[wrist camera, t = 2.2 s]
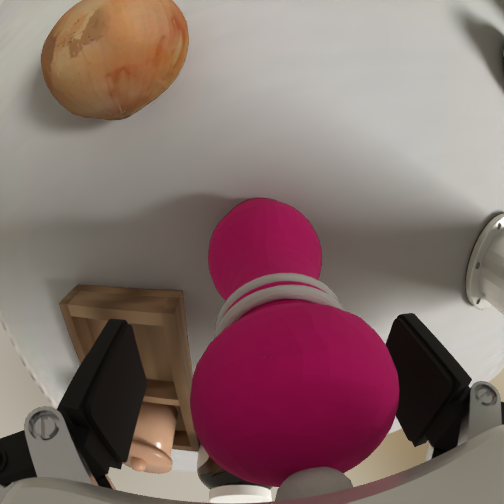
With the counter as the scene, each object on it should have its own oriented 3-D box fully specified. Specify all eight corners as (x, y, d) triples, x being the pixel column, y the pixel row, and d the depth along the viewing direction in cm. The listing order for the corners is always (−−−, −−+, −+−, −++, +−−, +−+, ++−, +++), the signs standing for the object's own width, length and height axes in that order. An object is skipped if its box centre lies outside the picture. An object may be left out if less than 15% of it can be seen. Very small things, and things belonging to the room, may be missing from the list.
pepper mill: (204, 264, 23) (141, 534, 4) (229, 179, 20) (131, 451, 1) (286, 287, 24) (357, 534, 5) (317, 208, 21) (527, 413, 2)
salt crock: (175, 394, 26) (161, 463, 18) (184, 426, 29) (175, 486, 20) (118, 386, 26) (94, 448, 18) (133, 419, 29) (117, 475, 20)
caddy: (182, 290, 23) (173, 313, 20) (202, 430, 31) (199, 451, 27) (77, 284, 23) (59, 303, 19) (126, 420, 30) (120, 439, 27)
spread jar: (248, 400, 29) (252, 487, 18) (301, 431, 32) (314, 500, 21) (183, 431, 31) (173, 501, 20) (238, 457, 34) (239, 518, 24)
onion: (182, 3, 15) (152, -66, 5) (214, 97, 18) (191, 52, 9) (81, 51, 15) (11, 19, 6) (102, 144, 19) (20, 148, 9)
